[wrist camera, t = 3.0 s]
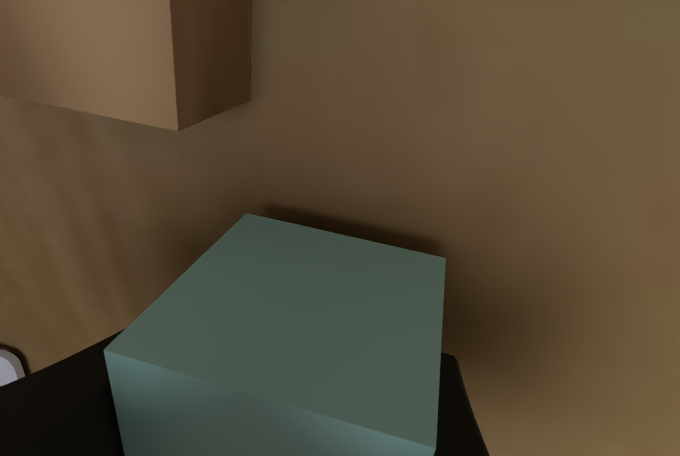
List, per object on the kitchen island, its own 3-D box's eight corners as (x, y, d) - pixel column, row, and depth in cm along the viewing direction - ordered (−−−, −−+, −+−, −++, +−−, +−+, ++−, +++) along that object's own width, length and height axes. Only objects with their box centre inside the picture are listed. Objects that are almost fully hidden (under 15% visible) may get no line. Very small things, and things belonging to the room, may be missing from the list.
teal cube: (244, 357, 13) (139, 527, 9) (246, 212, 11) (102, 350, 6) (405, 403, 12) (376, 615, 8) (445, 258, 10) (435, 448, 6)
